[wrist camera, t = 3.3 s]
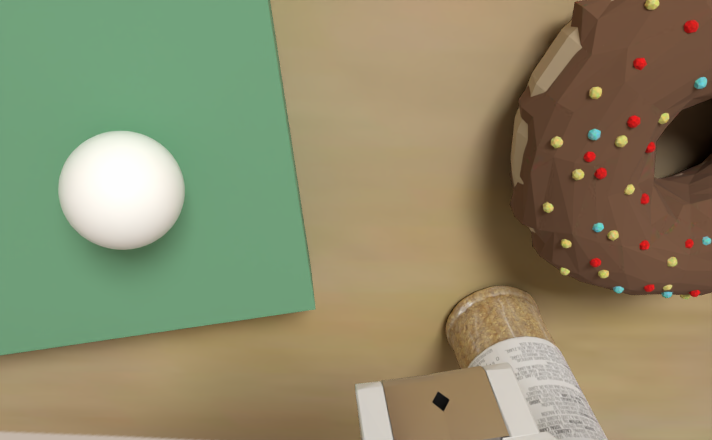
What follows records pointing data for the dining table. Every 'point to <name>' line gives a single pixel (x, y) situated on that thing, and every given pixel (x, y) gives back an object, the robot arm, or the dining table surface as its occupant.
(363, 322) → the dining table surface
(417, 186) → the dining table surface
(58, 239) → the putting mat
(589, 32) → the donut
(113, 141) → the white ball
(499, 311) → the sprinkles bottle
